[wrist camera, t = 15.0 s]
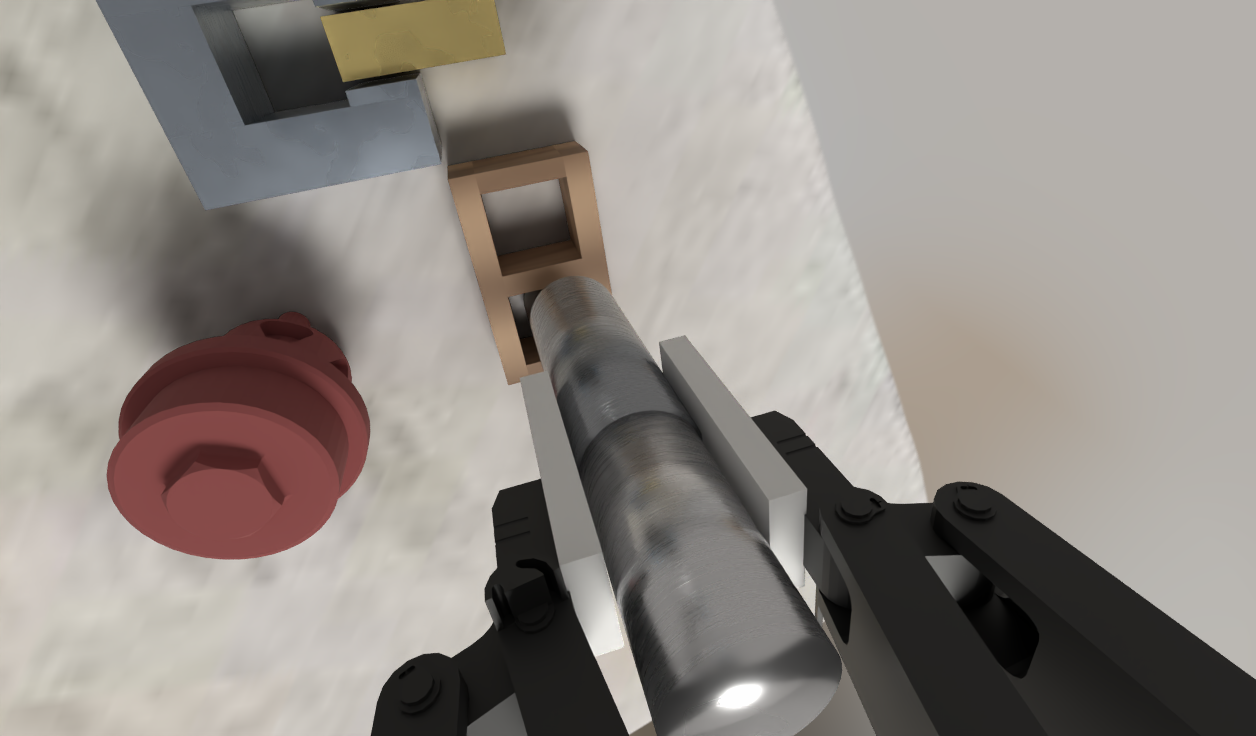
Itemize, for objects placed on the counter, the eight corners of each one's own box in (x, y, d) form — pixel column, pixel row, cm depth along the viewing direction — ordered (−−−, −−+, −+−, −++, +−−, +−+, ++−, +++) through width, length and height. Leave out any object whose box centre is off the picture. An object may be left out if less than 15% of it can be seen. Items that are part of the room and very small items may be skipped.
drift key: (333, 18, 27) (319, 16, 24) (487, -5, 28) (492, -10, 25) (354, 77, 28) (343, 82, 25) (499, 52, 29) (505, 54, 26)
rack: (447, 166, 31) (448, 201, 24) (575, 140, 32) (608, 168, 26) (503, 357, 37) (516, 428, 31) (608, 331, 39) (642, 393, 32)
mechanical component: (182, 420, 34) (191, 260, 30) (367, 443, 38) (396, 304, 34) (67, 588, 24) (58, 378, 20) (338, 597, 28) (374, 421, 24)
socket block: (121, -61, 24) (53, -82, 20) (372, -93, 25) (357, -118, 21) (240, 185, 29) (205, 210, 25) (441, 146, 31) (441, 163, 26)
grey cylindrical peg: (521, 287, 20) (637, 677, 8) (609, 266, 21) (853, 601, 8) (541, 365, 22) (663, 793, 9) (622, 344, 23) (843, 724, 10)
